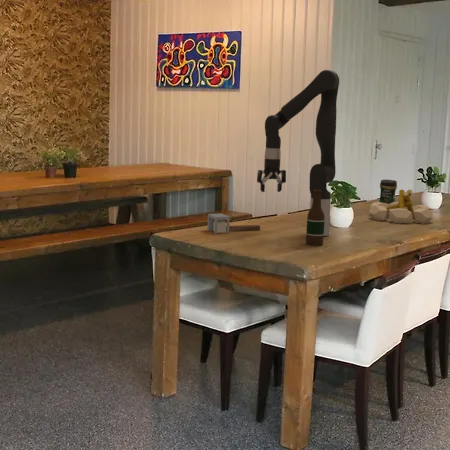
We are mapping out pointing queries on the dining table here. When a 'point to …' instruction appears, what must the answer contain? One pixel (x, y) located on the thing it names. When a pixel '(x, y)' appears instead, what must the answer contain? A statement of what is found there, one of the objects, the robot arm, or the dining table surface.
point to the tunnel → (216, 218)
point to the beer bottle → (315, 221)
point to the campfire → (401, 210)
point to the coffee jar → (387, 191)
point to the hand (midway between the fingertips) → (270, 191)
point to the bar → (244, 228)
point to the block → (220, 226)
